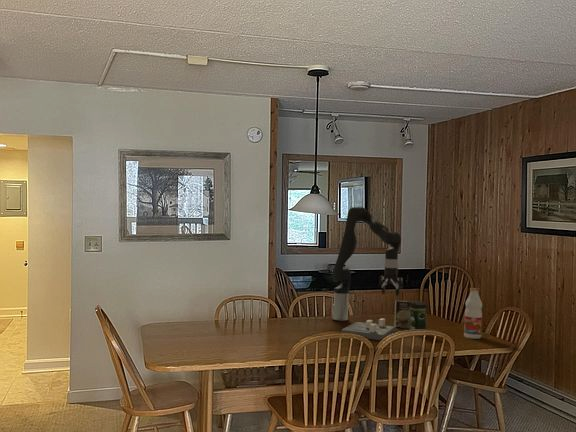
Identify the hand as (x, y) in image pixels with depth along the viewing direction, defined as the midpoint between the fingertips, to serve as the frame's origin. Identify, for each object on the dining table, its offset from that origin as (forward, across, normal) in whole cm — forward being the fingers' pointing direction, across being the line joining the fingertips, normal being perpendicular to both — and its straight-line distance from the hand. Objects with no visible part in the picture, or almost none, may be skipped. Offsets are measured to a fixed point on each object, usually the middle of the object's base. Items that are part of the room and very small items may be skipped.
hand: (390, 294), depth 329 cm
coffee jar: (+23, +12, +12) cm, 28 cm away
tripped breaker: (+19, -9, -9) cm, 23 cm away
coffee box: (+22, -2, +22) cm, 31 cm away
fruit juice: (+23, +40, +26) cm, 53 cm away
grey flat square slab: (+22, -9, -9) cm, 25 cm away
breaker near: (+19, -2, -17) cm, 25 cm away
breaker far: (+19, -5, +1) cm, 20 cm away
